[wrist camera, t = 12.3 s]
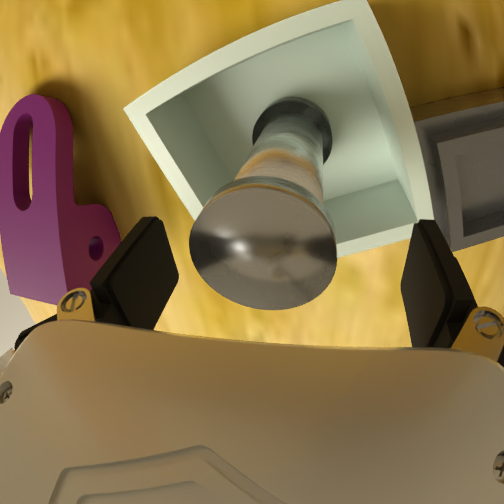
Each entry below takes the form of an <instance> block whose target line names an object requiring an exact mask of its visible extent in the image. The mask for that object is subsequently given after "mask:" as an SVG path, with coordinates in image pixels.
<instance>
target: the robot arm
mask: <svg viewBox="0 0 504 504" xmlns="http://www.w3.org/2000/svg"><path fill="white" fill-rule="evenodd" d="M178 279H179V274H178V270H177V267H176V264H175V261H174V257H173V254H172V251H171V248H170V244H169V241H168V238H167V234H166V231H165V228H164V224H163V222H162V221H161V220H159V218H158V217H156V216H155V217H142V218H141V219H140V221H139V222H138V223H137V224H136V225H135V226H134V228H133V229H132V230H131V231H130V232H129V233H128V235H127V236H126V237H125V238H124V239H123V241H122V242H121V243H120V244H119V245H118V247H117V248H116V249H115V250H114V252H113V253H112V254H111V255H110V257H109V258H108V259H107V260H106V262H105V263H104V264H103V265H102V267H101V268H100V269H99V271H98V272H97V273H96V274H95V276H94V277H93V278H92V280H91V281H90V282H89V283H90V285H91V287H92V289H91V291H90V292H89V290H87V289H86V288H76V289H73V290H71V291H69V292H68V293H66V294H65V295H64V296H63V297H62V298H61V299H60V301H59V303H58V305H57V314H56V315H54V316H52V317H50V318H48V319H46V320H44V321H42V322H40V323H38V324H36V325H34V326H32V327H30V328H28V329H26V330H24V331H22V332H21V333H20V335H19V337H18V339H17V340H16V343H15V350H13V349H12V348H11V349H10V350H9V351H7V352H6V353H5V354H4V355H2V356H1V357H0V504H504V318H503V317H502V315H501V314H500V313H498V312H497V311H496V310H494V309H492V308H489V307H478V306H477V303H476V301H475V299H474V296H473V294H472V291H471V289H470V287H469V284H468V282H467V280H466V278H465V275H464V273H463V271H462V269H461V267H460V265H459V263H458V260H457V259H456V257H454V256H453V254H452V252H451V250H450V248H449V246H448V244H447V242H446V240H445V238H444V236H443V234H442V232H441V230H440V228H439V226H438V224H437V223H436V221H435V220H428V219H420V220H419V222H418V223H414V225H413V230H412V235H411V240H410V245H409V250H408V254H407V259H406V263H405V267H404V271H403V276H402V280H401V293H402V297H403V302H404V306H405V311H406V316H407V321H408V326H409V332H410V337H411V343H412V347H338V346H313V345H294V344H278V343H264V342H252V341H240V340H230V339H220V338H211V337H202V336H193V335H185V334H177V333H170V332H162V331H155V330H153V329H154V327H155V325H156V323H157V321H158V319H159V317H160V315H161V313H162V311H163V310H164V308H165V306H166V304H167V302H168V300H169V298H170V296H171V294H172V292H173V290H174V288H175V286H176V284H177V283H178Z"/></svg>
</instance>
